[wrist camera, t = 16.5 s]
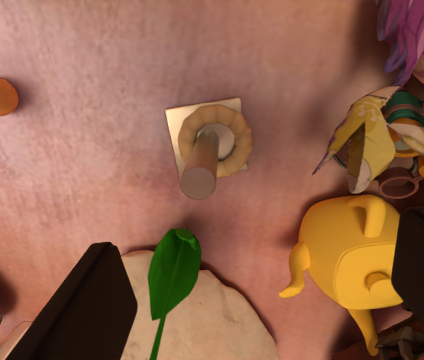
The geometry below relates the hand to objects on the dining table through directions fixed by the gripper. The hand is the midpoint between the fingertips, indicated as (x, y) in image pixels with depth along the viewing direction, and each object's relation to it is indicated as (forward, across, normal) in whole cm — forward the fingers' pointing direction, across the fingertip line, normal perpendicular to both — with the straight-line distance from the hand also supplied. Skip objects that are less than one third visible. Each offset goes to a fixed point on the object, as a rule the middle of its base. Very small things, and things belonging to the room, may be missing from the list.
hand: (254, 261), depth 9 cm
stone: (+17, +23, +19) cm, 35 cm away
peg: (+22, +3, +1) cm, 22 cm away
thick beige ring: (+20, +2, +1) cm, 20 cm away
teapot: (+21, -11, +16) cm, 29 cm away
